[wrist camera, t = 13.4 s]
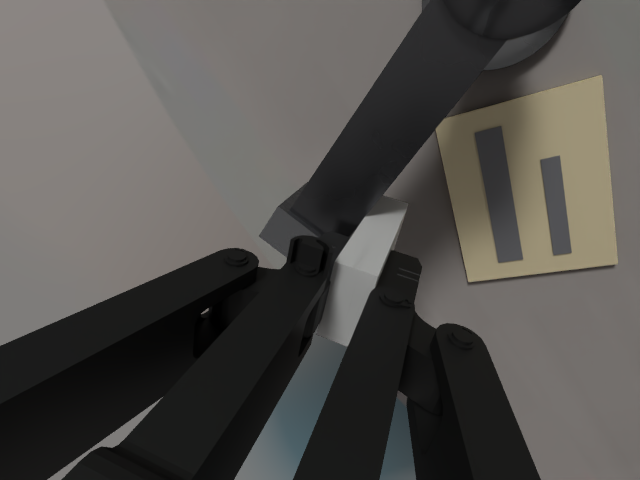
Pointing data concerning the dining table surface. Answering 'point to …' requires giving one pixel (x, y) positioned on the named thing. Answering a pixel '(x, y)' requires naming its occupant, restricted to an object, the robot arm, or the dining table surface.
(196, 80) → the dining table surface
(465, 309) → the dining table surface
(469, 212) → the label card
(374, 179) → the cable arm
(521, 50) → the grey mushroom knob
